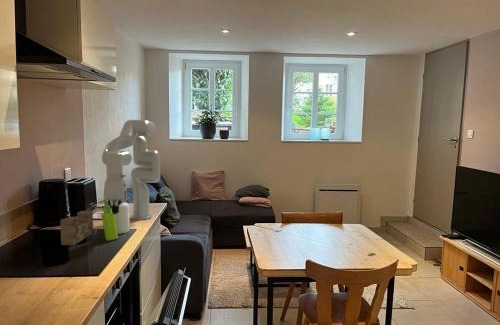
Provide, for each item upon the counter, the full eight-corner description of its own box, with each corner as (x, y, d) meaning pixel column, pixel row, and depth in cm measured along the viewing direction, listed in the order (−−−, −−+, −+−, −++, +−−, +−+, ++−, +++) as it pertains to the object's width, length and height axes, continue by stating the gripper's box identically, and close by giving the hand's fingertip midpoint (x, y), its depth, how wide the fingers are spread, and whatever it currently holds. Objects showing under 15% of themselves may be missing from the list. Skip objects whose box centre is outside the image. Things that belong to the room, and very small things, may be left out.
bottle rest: (82, 232, 192) (81, 210, 191) (93, 233, 192) (92, 211, 191) (61, 245, 172) (60, 220, 171) (73, 245, 172) (72, 220, 171)
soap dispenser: (101, 240, 180) (94, 201, 178) (113, 236, 186) (106, 198, 184) (109, 241, 177) (102, 201, 175) (120, 236, 183) (114, 198, 180)
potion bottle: (132, 230, 198) (131, 198, 196) (125, 234, 190) (124, 201, 188) (117, 229, 199) (116, 197, 197) (110, 234, 191) (109, 200, 189)
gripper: (132, 176, 181) (132, 212, 183) (103, 175, 182) (103, 211, 183) (126, 178, 174) (127, 215, 176) (96, 177, 174) (97, 215, 176)
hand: (115, 213), depth 180 cm, fingers closed
